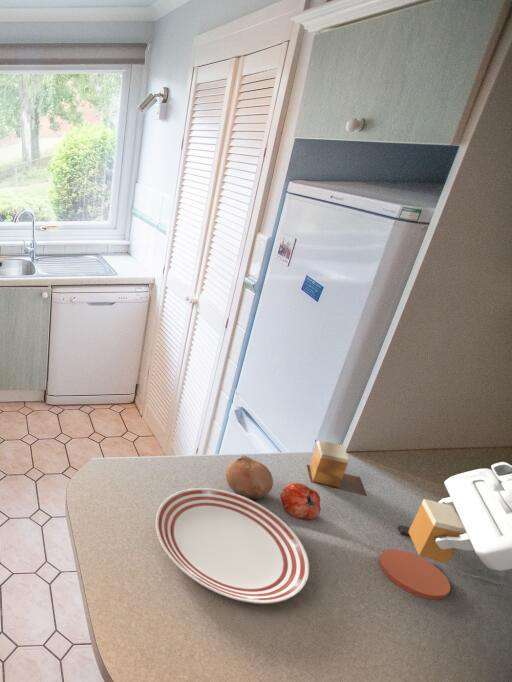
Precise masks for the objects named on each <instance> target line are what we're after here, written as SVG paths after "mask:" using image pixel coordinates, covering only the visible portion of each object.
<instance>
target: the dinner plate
mask: <svg viewBox="0 0 512 682" xmlns="http://www.w3.org/2000/svg"><path fill="white" fill-rule="evenodd" d="M155 531H156V535H157V539H158V541H159V543H160V545H161V547H162V548H163V550H164V552H165V554H166V555H167V556H168V557H169V559H170V560H171V561H172V562H173V563H174V565H176V567H177V568H178V569H180V570H181V571H182V573H184V574H185V575H186V576H188V578H190V579H192V580H193V581H194V582H196V583H197V584H199V585H201V586H203V587H204V588H206V589H208V590H210V591H212V592H213V593H216V594H218V595H221V596H224V597H226V598H229V599H231V600H236V601H238V602H243V603H248V604H249V603H250V604H255V605H269V604H276V603H281V602H285V601H287V600H289V599H291V598H294V597H295V596H297V594H299V593H300V592H301V591H302V590H303V589H304V587H305V585H306V584H307V582H308V580H309V576H310V561H309V557H308V554H307V551H306V549H305V547H304V545H303V543H302V542H301V540H300V539H299V537H298V536H297V534H296V533H295V532H294V531H293V530H292V529H291V527H290V526H288V524H287V523H286V522H285V521H284V520H283V519H282V518H280V517H279V516H278V515H277V514H275V513H274V512H272V510H269V509H268V508H267V507H265V506H264V505H261V504H260V503H258V502H256V501H255V500H250V499H248V498H245V497H243V496H240V495H238V494H237V493H235V492H231V491H227V490H222V489H216V488H211V487H210V488H209V487H194V488H188V489H187V488H186V489H183V490H179V491H177V492H174V493H172V494H170V495H169V496H168V497H166V498H165V499H164V500H163V501H162V502H161V504H160V505H159V507H158V510H157V512H156V516H155Z"/></svg>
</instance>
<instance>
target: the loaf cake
mask: <svg viewBox="0 0 512 682" xmlns="http://www.w3.org/2000/svg"><path fill="white" fill-rule="evenodd" d="M349 463H350V458H349V455H348V453H347V451H346V448H345V445H344V444H339V443H335V442H329V441H325V440H321V439H318V440H317V442H316V444H315V448H314V451H313V454H312V457H311V459H310V463H309V464H306V469H307V473H308V477H309V482H310V483H311V484H316V485H320V486H324V487H328V488H333V489H337V490H341V491H345V492H348V493H352V494H356V495H360V496H365V497H367V496H368V495H367V493H366V489H365V487H364V484H363V481H362V479H361V477H360V476H356V475H352V474H348V473H346V470H347V467H348V465H349Z"/></svg>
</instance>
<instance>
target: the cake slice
mask: <svg viewBox="0 0 512 682" xmlns="http://www.w3.org/2000/svg"><path fill="white" fill-rule="evenodd" d="M409 528H410V529H409V531H408V532H409V535H410V537H409V538H410V539H411V541H412V543H413V546H414V548H415V550H416V552H417V555H418V556H419V557H421V558H426V559H430V560H433V561H437V562H440V563H444V564H449V562H450V560H451V558H452V556H453V555H454V553H455V551H456V548H450V549H441V548H440V547H439V546H438V545H437V544H436V541H435V539H434V537H435V536H437V535H441V534H446V535H447V536H448V537H460V536H459V535H461V534H466V530H465V528H464V526H463V524H462V521H461V519H460V517H459V515H458V513H457V512H456V511H455V510H454V508H453V506H451V505H447V504H443V503H439V501H435V500H430V499H425V498H423V499H422V502H421V504H420V506H419V508H418V510H417V512H416V514H415V516H414V518H413V520H412V523H411V525H410V527H409Z"/></svg>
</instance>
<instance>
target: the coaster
mask: <svg viewBox="0 0 512 682" xmlns="http://www.w3.org/2000/svg"><path fill="white" fill-rule="evenodd" d="M378 564H379V567H380V569H381V571H382V573H384V575H385V576H386V577H387V578H388V579H389V580H390V581H391V582H392V583H394V584H395V585H397V586H398V587H399V588H401V589H403V590H405V591H406V592H408V593H410V594H412V595H415V596H417V597H420V598H425V599H427V600H442V599H445V598H446V597H447V596H448V595H449V592H451V583H450V581H449V579H448V577H447V576H446V575H445V574H444V573H443V572H442V571H441V570H440V569H439V568H438V567H436V565H434V564H433V563H431V562H430V561H429V560H428V559H425V558H424V557H422V556H419V555H418V554H415V553H412V552H409V551H406V550H403V549H395V548H394V549H393V548H391V549H387V550H384V551H383V552H382V553H381V554H380V556H379V559H378Z"/></svg>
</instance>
